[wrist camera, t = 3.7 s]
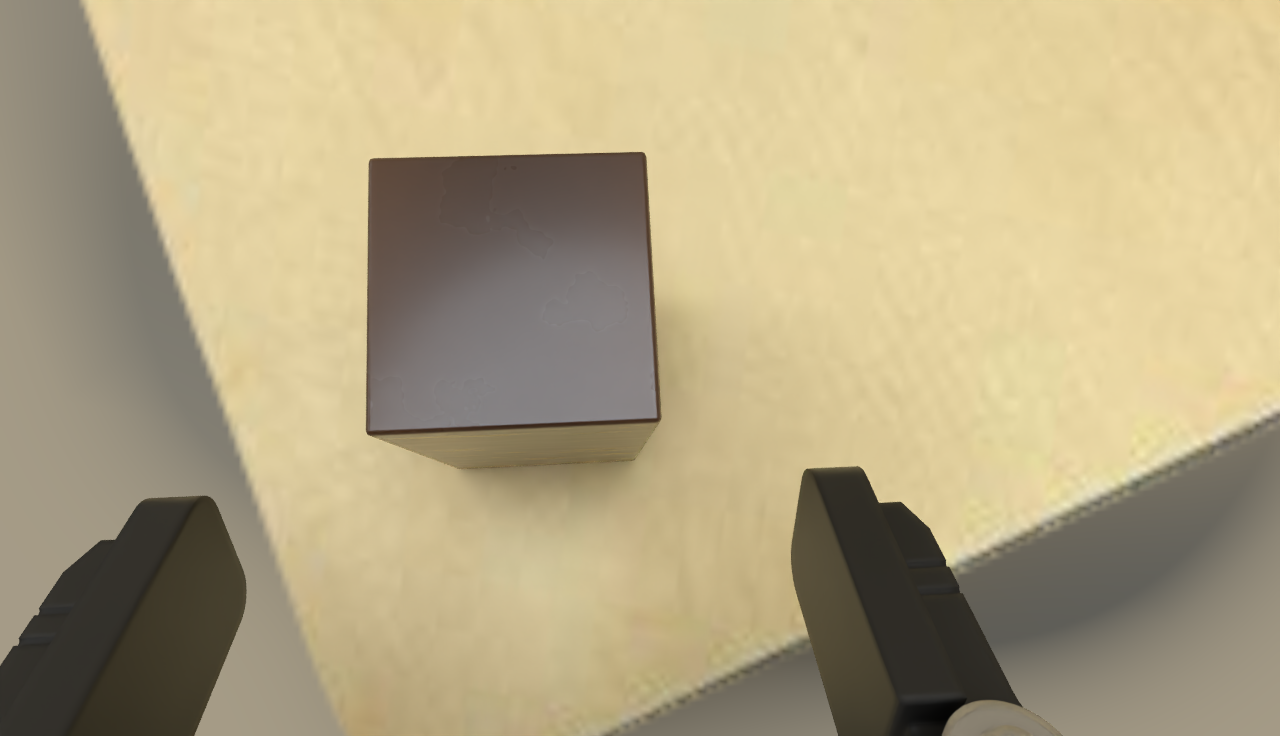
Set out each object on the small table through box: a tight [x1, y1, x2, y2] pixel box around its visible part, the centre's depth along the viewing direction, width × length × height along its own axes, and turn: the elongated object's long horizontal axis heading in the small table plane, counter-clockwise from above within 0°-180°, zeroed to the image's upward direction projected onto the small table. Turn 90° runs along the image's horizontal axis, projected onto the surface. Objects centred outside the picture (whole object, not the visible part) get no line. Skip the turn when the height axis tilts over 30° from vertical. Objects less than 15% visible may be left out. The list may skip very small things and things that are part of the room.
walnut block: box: [366, 152, 661, 469], centre depth 16 cm, size 4×4×8 cm
